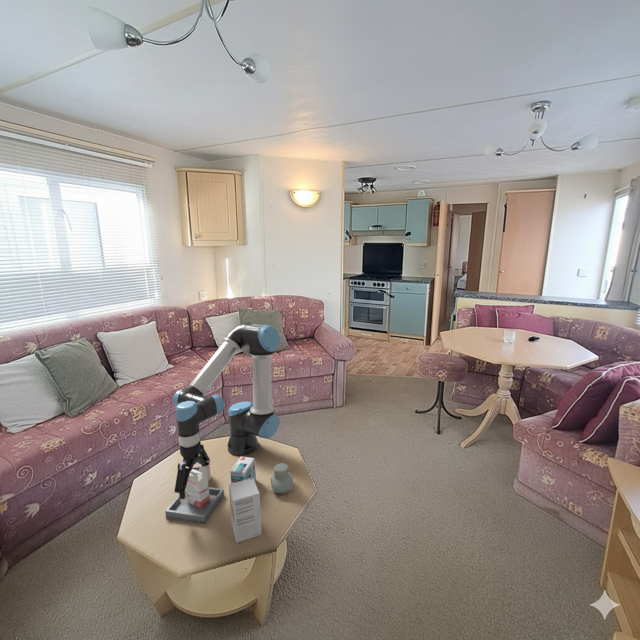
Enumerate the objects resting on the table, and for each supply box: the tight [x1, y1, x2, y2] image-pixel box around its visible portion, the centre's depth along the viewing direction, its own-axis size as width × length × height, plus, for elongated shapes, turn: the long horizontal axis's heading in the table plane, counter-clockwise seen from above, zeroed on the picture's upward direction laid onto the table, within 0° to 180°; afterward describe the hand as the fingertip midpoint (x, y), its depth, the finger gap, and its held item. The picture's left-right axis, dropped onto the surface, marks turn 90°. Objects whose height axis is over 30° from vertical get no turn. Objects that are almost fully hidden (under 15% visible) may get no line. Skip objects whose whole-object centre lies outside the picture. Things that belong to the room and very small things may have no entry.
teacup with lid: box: [186, 455, 212, 483], centre depth 147 cm, size 12×9×12 cm
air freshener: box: [270, 462, 294, 495], centre depth 142 cm, size 11×8×10 cm
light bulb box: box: [229, 456, 257, 484], centre depth 143 cm, size 11×7×11 cm, turn 168°
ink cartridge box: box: [186, 469, 210, 508], centre depth 133 cm, size 9×5×15 cm, turn 63°
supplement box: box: [228, 478, 263, 544], centre depth 120 cm, size 10×9×17 cm
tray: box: [164, 486, 225, 525], centre depth 133 cm, size 15×16×3 cm
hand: (195, 492), depth 132 cm, fingers open, 13 cm apart
